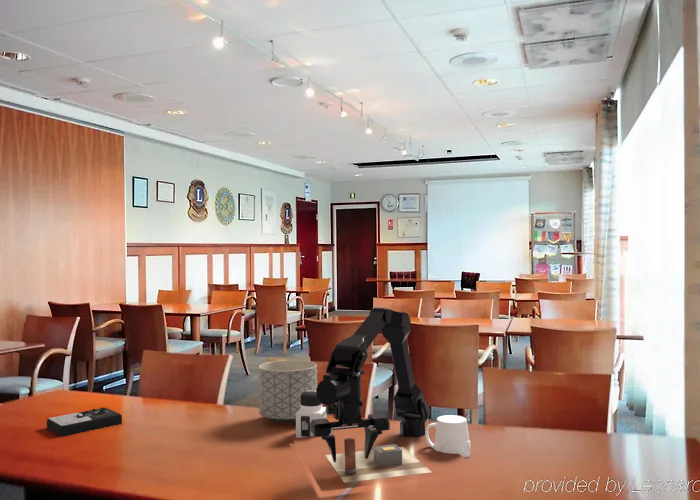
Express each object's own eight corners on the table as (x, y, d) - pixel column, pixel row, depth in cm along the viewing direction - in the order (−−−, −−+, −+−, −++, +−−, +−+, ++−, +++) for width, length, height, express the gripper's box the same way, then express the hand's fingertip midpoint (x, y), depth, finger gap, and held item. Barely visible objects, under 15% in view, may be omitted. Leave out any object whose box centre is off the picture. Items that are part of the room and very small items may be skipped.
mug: (471, 416, 164) (468, 424, 156) (471, 450, 164) (468, 459, 156) (427, 413, 168) (422, 421, 160) (428, 446, 168) (423, 456, 160)
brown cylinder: (354, 469, 147) (353, 437, 146) (357, 473, 144) (356, 441, 144) (343, 471, 146) (342, 438, 146) (346, 475, 143) (345, 442, 143)
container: (321, 439, 175) (320, 395, 175) (295, 438, 176) (295, 394, 177) (327, 432, 182) (326, 389, 183) (302, 430, 184) (302, 388, 184)
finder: (395, 457, 155) (395, 443, 155) (402, 464, 150) (402, 449, 150) (373, 460, 154) (373, 445, 154) (379, 466, 149) (379, 451, 149)
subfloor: (403, 451, 164) (403, 446, 164) (432, 477, 145) (432, 472, 145) (325, 459, 158) (325, 455, 158) (344, 487, 139) (344, 482, 139)
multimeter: (122, 425, 194) (122, 409, 194) (60, 438, 181) (60, 422, 181) (106, 417, 204) (106, 403, 204) (46, 430, 190) (45, 414, 190)
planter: (286, 410, 209) (285, 358, 209) (329, 418, 198) (328, 363, 198) (247, 422, 194) (246, 366, 194) (291, 432, 182) (290, 373, 183)
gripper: (375, 386, 155) (376, 446, 155) (305, 391, 150) (306, 453, 150) (390, 395, 145) (390, 460, 144) (314, 401, 140) (315, 468, 139)
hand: (350, 460), depth 145 cm, fingers open, 8 cm apart
